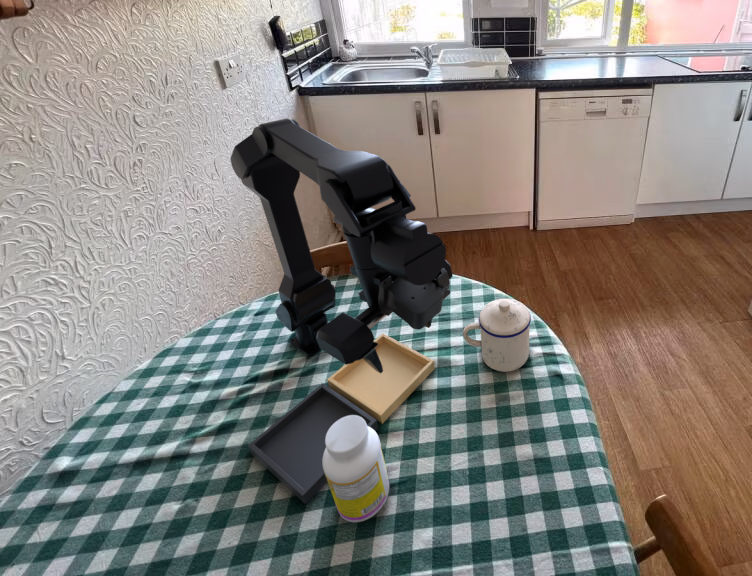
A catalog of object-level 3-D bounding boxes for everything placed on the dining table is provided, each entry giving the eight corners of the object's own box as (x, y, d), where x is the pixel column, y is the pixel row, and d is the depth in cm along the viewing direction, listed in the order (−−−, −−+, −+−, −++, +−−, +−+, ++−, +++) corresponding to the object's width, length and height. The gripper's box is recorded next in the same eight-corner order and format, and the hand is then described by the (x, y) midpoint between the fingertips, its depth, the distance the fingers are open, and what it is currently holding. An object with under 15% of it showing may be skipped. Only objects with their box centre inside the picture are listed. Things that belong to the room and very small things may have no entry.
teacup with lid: (528, 334, 80) (528, 285, 75) (532, 372, 72) (533, 321, 67) (465, 336, 79) (462, 288, 74) (463, 376, 71) (459, 324, 66)
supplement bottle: (348, 469, 57) (330, 406, 52) (396, 470, 57) (383, 407, 52) (327, 524, 51) (305, 460, 46) (380, 526, 51) (364, 461, 45)
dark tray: (251, 453, 59) (247, 445, 58) (324, 391, 69) (322, 382, 68) (305, 504, 53) (302, 496, 52) (378, 428, 63) (376, 419, 62)
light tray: (329, 387, 69) (326, 379, 68) (384, 340, 79) (382, 333, 78) (382, 424, 63) (380, 415, 62) (435, 368, 73) (434, 360, 72)
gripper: (356, 325, 41) (394, 428, 47) (473, 233, 54) (489, 323, 61) (294, 293, 47) (335, 389, 53) (413, 217, 60) (434, 301, 67)
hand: (405, 347), depth 58 cm, fingers open, 9 cm apart
